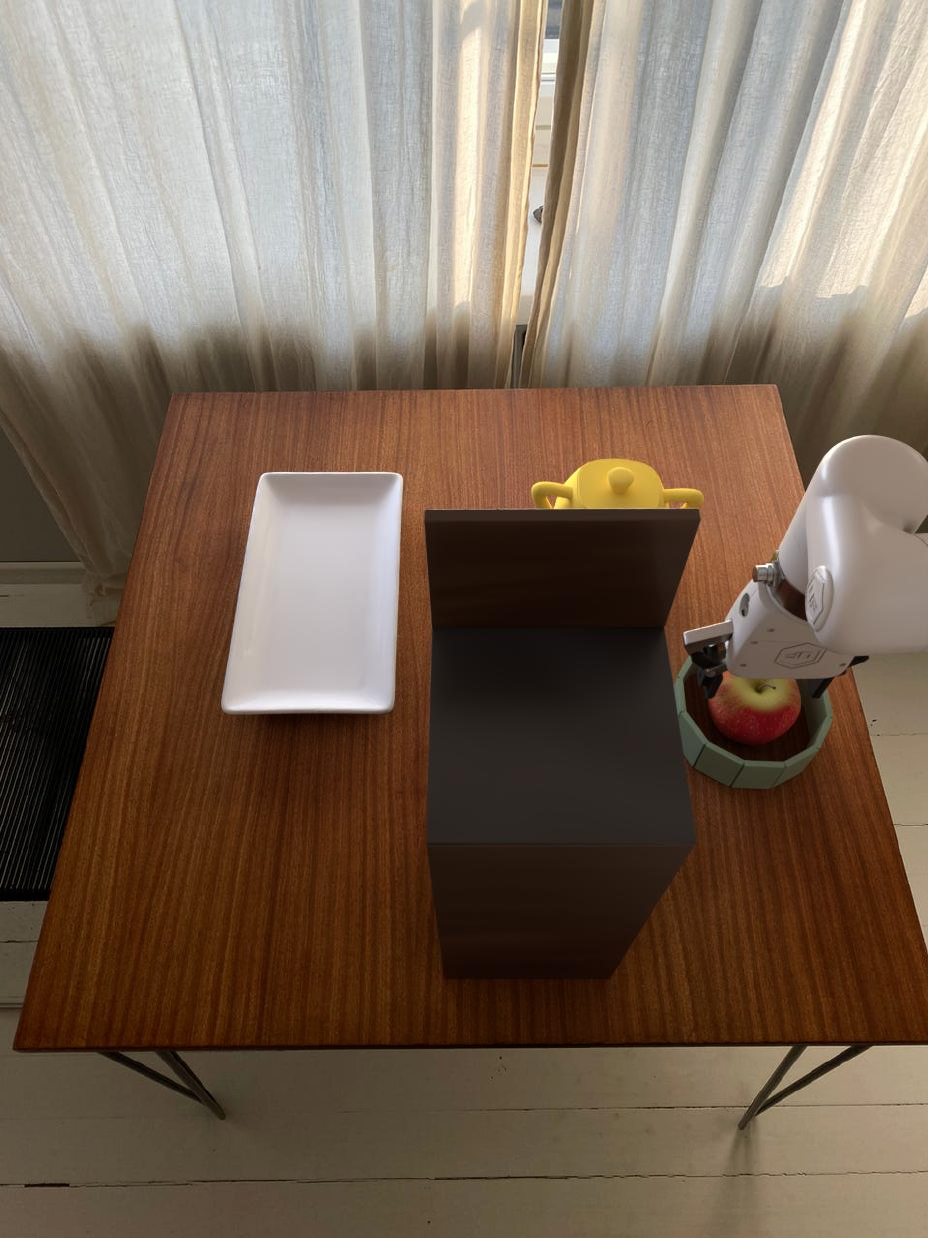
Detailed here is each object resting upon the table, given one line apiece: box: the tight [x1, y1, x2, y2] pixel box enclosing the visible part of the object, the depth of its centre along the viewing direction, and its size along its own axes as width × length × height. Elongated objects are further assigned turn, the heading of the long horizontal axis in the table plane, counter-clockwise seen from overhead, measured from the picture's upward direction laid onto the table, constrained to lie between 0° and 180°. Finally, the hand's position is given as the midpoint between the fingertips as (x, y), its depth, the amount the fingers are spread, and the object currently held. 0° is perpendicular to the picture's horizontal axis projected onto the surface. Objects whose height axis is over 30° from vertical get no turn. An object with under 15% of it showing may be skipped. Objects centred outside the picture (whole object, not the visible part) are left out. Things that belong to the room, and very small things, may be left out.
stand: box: [423, 507, 702, 980], centre depth 59 cm, size 14×14×44 cm
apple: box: [706, 671, 802, 746], centre depth 82 cm, size 8×8×10 cm
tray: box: [220, 471, 404, 715], centre depth 94 cm, size 17×32×4 cm, turn 0°
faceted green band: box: [673, 648, 834, 790], centre depth 84 cm, size 14×14×5 cm
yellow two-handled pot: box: [530, 458, 705, 510], centre depth 94 cm, size 14×14×12 cm
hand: (758, 684), depth 81 cm, fingers open, 9 cm apart
